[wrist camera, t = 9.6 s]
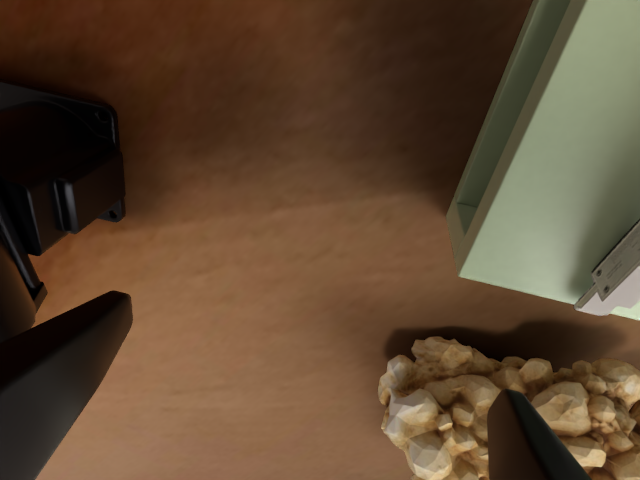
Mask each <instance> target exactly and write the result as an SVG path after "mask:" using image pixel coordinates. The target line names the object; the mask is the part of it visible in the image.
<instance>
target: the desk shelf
mask: <svg viewBox="0 0 640 480" xmlns="http://www.w3.org/2000/svg"><path fill="white" fill-rule="evenodd" d="M639 219H640V0H533V2H532V4H531V7H530V9H529V11H528V14H527V16H526V19H525V21H524V24H523V26H522V29H521V31H520V34H519V36H518V39H517V41H516V44H515V46H514V49H513V51H512V53H511V56H510V58H509V61H508V63H507V66H506V68H505V71H504V73H503V76H502V78H501V81H500V83H499V86H498V88H497V91H496V93H495V95H494V98H493V100H492V103H491V105H490V108H489V110H488V113H487V115H486V118H485V120H484V123H483V125H482V128H481V130H480V133H479V135H478V137H477V140H476V142H475V145H474V147H473V150H472V152H471V155H470V157H469V160H468V162H467V165H466V167H465V170H464V172H463V175H462V177H461V179H460V182H459V184H458V187H457V189H456V192H455V194H454V197H453V199H452V202H451V204H450V207H449V209H448V212H447V214H446V221H447V225H448V230H449V235H450V240H451V244H452V249H453V254H454V258H455V264H456V269H457V274H458V276H459V277H463V278H467V279H471V280H475V281H479V282H483V283H487V284H491V285H495V286H500V287H504V288H508V289H512V290H516V291H520V292H524V293H528V294H532V295H537V296H541V297H545V298H549V299H553V300H557V301H561V302H565V303H570V304H574V305H575V303H576V302H577V301H578V299H579V298H580V297H581V296H582V295H583V294H584V293H585V292H586V291H587V290H588V289H589V288H590V287H591V286H592V285H593V280H592V277H591V272H592V271H593V269H594V268H595V267H596V266H597V265H598V263H599V262H600V261H601V260H602V259H603V258H604V257H605V256H606V255H607V254H608V253H609V251H610V250H611V249H612V248H613V247H614V246H615V245H616V244H617V243H618V242H619V240H620V239H621V238H622V237H623V236H624V235H625V234H626V233H627V232H628V231H629V229H630V228H631V227H632V226H633V225H634V224H635V223H636V222H637V221H638V220H639ZM610 313H611V314H615V315H619V316H623V317H627V318H631V319H635V320H640V301H639V302H638V303H636V304H635V305H634V306H633V307H632V308H631V309H628V308H624V307H620V306H616V307H615V308H614V309H613V310H612V311H611V312H610Z"/></svg>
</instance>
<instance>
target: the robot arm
mask: <svg viewBox="0 0 640 480" xmlns="http://www.w3.org/2000/svg"><path fill="white" fill-rule="evenodd" d="M102 112H105V113H106V115H107V117H108V119H106V118H105V117H104V116H103V114H102ZM124 196H125V182H124V170H123V158H122V153H121V151H120V144H119V132H118V120H117V114H116V112H115V110H114V109H113V108H112V107H111V106H110V105H107V104H104V103H100V102H95V101H91V100H87V99H83V98H79V97H74V96H70V95H66V94H62V93H57V92H53V91H49V90H45V89H40V88H36V87H32V86H28V85H23V84H19V83H15V82H11V81H6V80H2V79H0V480H35V479H36V478H37V476H38V475H39V473H40V472H41V470H42V469H43V467H44V466H45V464H46V463H47V462H48V460H49V459H50V457H51V456H52V454H53V453H54V451H55V450H56V448H57V447H58V445H59V444H60V443H61V441H62V440H63V438H64V437H65V435H66V434H67V432H68V431H69V429H70V428H71V426H72V425H73V424H74V422H75V421H76V419H77V418H78V416H79V415H80V413H81V412H82V410H83V409H84V407H85V406H86V405H87V403H88V402H89V400H90V399H91V397H92V396H93V394H94V393H95V391H96V390H97V388H98V387H99V385H100V383H101V382H102V380H103V378H104V376H105V375H106V373H107V371H108V369H109V367H110V365H111V364H112V362H113V360H114V358H115V356H116V354H117V352H118V350H119V349H120V347H121V345H122V343H123V341H124V339H125V337H126V336H127V334H128V332H129V330H130V328H131V325H132V321H133V315H132V304H131V297H130V295H129V294H126V293H122V292H118V291H110V292H107V293H105V294H103V295H101V296H99V297H97V298H95V299H93V300H90V301H88V302H86V303H84V304H82V305H80V306H78V307H76V308H73V309H71V310H69V311H67V312H65V313H63V314H61V315H59V316H56V317H54V318H52V319H50V320H48V321H46V322H44V323H42V324H39V325H37V326H35V327H33V328H31V327H32V325H33V324H34V322H35V314H36V313H37V311H38V309H39V307H40V306H41V304H42V302H43V300H44V298H45V297H46V295H47V293H48V292H47V290H46V287H45V285H44V283H43V282H40V280H39V278H38V276H37V274H36V272H35V269H34V267H33V265H32V263H31V261H30V259H29V256H28V254H31V255H35V256H40V255H41V254H43V253H44V252H45V251H46V250H48V249H49V248H50V247H52V246H53V245H54V244H56V243H57V242H58V241H60V240H61V239H62V238H63V237H65V236H66V235H67V234H69V233H71V234H77V233H78V232H80V231H81V230H82V229H83V228H85V227H86V226H87V225H89V224H90V223H91V222H92V221H94V220H95V219H96V218H99V219H103V220H107V221H111V222H119V221H120V220H121V219H123V218H124V216H125V203H124ZM113 211H115V212H116V214H117V215H116V214H115V213H114V212H113ZM487 438H488V466H489V480H592V479H591V478H590V476H589V475H588V474H587V473H586V471H585V470H584V469H583V468H582V466H581V465H580V464H579V463H578V461H577V460H576V459H575V458H574V456H573V455H572V454H571V453H570V451H569V450H568V449H567V448H566V446H565V445H564V444H563V443H562V441H561V440H560V439H559V438H558V436H557V435H556V434H555V433H554V431H553V430H552V429H551V428H550V426H549V425H548V424H547V423H546V421H545V420H544V419H543V418H542V416H541V415H540V414H539V413H538V411H537V410H536V409H535V408H534V406H533V405H532V404H531V403H530V401H529V400H528V399H527V398H526V396H525V395H524V394H523V393H521V392H519V391H515V390H511V389H507V388H505V389H502V390H501V391H500V393H499V394H498V396H497V397H496V399H495V400H494V402H493V403H492V405H491V406H490V408H489V410H488V413H487Z"/></svg>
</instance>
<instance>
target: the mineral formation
mask: <svg viewBox="0 0 640 480" xmlns="http://www.w3.org/2000/svg"><path fill="white" fill-rule="evenodd" d="M411 350H412V353H413V355H414V356H415V357H416V358H417V359H416V361H415V363H414V362H413V361H412V360H410V359H409V358H408V357H406V356H405V355H398V356H396V357H395V358H393V359H391V360H390V361H388V365H387V372H386V373H385V374H384V375H383V376H382V377H381V378H380V381H379V387H378V396H379V400H380V402H381V404H383V405H385V406H386V407H387V409H386V411H385V415H384V418H383V422H382V426H381V428H382V429H383V431H384V433H385V434H386V435H387V436H388V438H389V439H390V440H391V441H392V442H393V444H394V445H397V447H398V448H400V449H402V450H404V451H405V454H406V458H407V461H408V465H409V467H410V468H411V470H412V471H413V472H414V473H415V474H413V475H412V476H411V477H410V478H411V480H489V466H488V438H487V413H488V410H489V408H490V406H491V405H492V403H493V402H494V400H495V399H496V397H497V396H498V394H499V393H500V391H501V390H502V389H505V388H507V389H511V390H515V391H519V392H521V393H523V394H524V395H525V396H526V398H527V399H528V400H529V401H530V403H531V404H532V405H533V406H534V408H535V409H536V410H537V411H538V413H539V414H540V415H541V416H542V418H543V419H544V420H545V421H546V423H547V424H548V425H549V426H550V428H551V429H552V430H553V431H554V433H555V434H556V435H557V436H558V438H559V439H560V440H561V441H562V443H563V444H564V445H565V446H566V448H567V449H568V450H569V451H570V453H571V454H572V455H573V456H574V458H575V459H576V460H577V461H578V463H579V464H580V465H581V466H582V468H583V469H584V470H585V471H586V473H587V474H588V475H589V476H590V478H591V479H592V480H640V371H638V370H637V369H636V368H635V367H634V366H633V365H632V364H629V363H626V362H623V361H620V360H618V359H611V358H603V359H597V360H596V361H595V362H593V363H592V364H590V363H588V362H586V361H583V360H580V361H577V362H575V363H573V367H572V370H571V369H566V368H560V370H559V371H558V372H557V373H555V372H553V370H552V367H551V364H550V362H549V361H546V360H543V359H540V358H533V359H529V360H528V361H526V360H523V359H521V358H519V357H505V358H504V359H503V361H502V362H499V361H496V360H494V359H492V358H491V359H488V358H487V357H485V356H484V355H483V354H482V353H481V352H479V351H478V350H476V349H475V348H473V349H472V348H471V346H463V345H461V344H460V343H458V342H457V341H456V340H455V339H452V340H450V341H449V340H444V339H443V338H442V337H438V336H437V337H429V338H427V339H426V340H415V342H414V345H413V347H412V349H411ZM636 401H637V402H636ZM634 402H636V403H635V404H634V405H633V407H632V408H631V409H630V410H629V408H630V405H631V404H632V403H634ZM628 410H629V411H628Z"/></svg>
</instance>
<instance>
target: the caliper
mask: <svg viewBox="0 0 640 480" xmlns="http://www.w3.org/2000/svg"><path fill="white" fill-rule="evenodd" d="M591 277H592V280H593V285H592V286H591V287H590V288H589V289H588V290H587V291H586V292H585V293H584V294H583V295H582V296H581V297H580V298H579V299H578V301H577V302H576V303H575V305H574V309H575V310H578V311H582V312H586V313H590V314H594V315H599V316H602V315H608V314H609V313H610V312H611V311H612V310H613V309H614V308H615V307H616V306H620V307H624V308H628V309H631V308H632V307H633V306H634V305H635V304H636V303H638V302H639V301H640V219H639V220H638V221H637V222H636V223H635V224H634V225H633V226H632V227H631V228H630V229H629V231H628V232H627V233H626V234H625V235H624V236H623V237H622V238H621V239H620V240H619V242H618V243H617V244H616V245H615V246H614V247H613V248H612V249H611V250H610V251H609V253H608V254H607V255H606V256H605V257H604V258H603V259H602V260H601V261H600V262H599V263H598V265H597V266H596V267H595V268H594V269H593V271H592V272H591Z"/></svg>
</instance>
